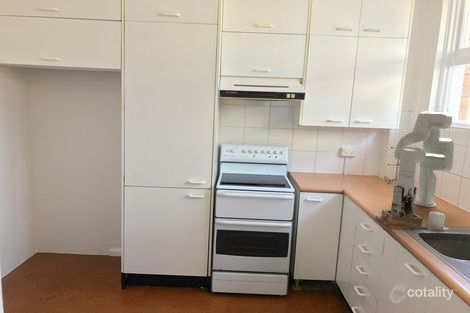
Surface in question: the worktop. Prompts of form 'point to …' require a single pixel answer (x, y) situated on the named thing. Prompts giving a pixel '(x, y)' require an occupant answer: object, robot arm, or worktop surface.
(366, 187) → the worktop surface
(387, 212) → the tray
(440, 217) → the white rounded cylinder
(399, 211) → the coffee box
